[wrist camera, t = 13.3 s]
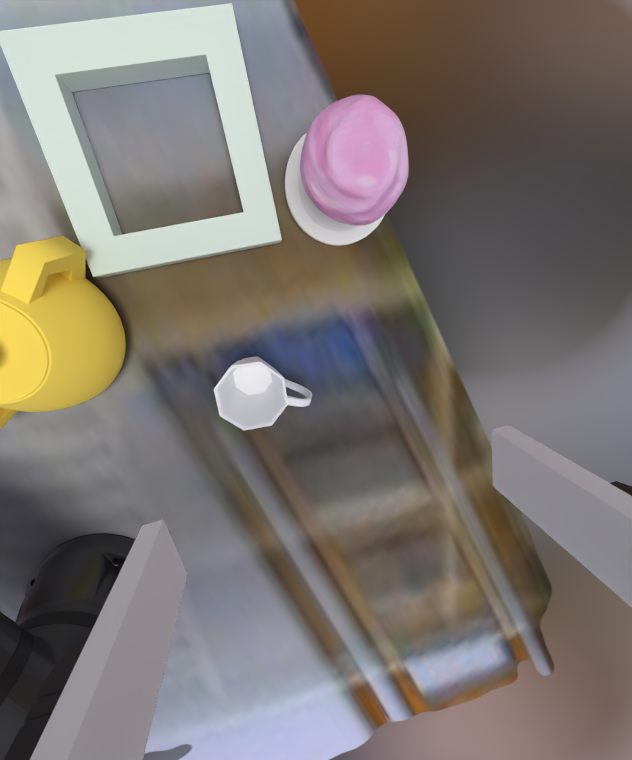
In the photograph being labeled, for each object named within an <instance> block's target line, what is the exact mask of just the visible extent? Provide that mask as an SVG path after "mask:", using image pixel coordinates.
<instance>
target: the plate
mask: <svg viewBox="0 0 632 760" xmlns="http://www.w3.org/2000/svg"><path fill="white" fill-rule="evenodd" d="M306 134H307V133H306ZM306 134H304V135H303V136H302V138H301V139H300V140H299V141H298V142H297V144H296V145H295V147H294V149H293V151H292V153H291V155H290V158H289V161H288V164H287V168H286V173H285V182H284V186H285V197H286V201H287V205H288V208H289V211H290V213H291V215H292V217H293V219H294V221H295V222H296V223H297V225H298V226H299V227H300V229H301V230H302V231H303V232H304V233H306V234H307V235H308V236H309V237H311V238H312V239H314V240H316V241H318V242H320V243H323V244H326V245H331V246H343V245H348V244H352V243H354V242H357V241H359V240H361V239H363V238H364V237H366V236H368V235H369V234H370V233H371V232H372V231H373V230H374V229H375V228H376V227H377V226H378V225H379V223H380V222H381V221H382V219H383V217H384V215H385V214H384V215H383V216H382V217H381V218H380V219H378V220H376V221H375V222H373V223H371V224H368V225H349V224H344V223H341V222H338V221H336V220H334V219H332V218H330V217H328V216H326V215H325V214H324V213H322V212H321V211H320V210H319V209H318V208H317V207H316V206H315V204H314V203H313V202H312V201H311V199H310V198H309V197H308V195H307V193H306V191H305V189H304V186H303V183H302V179H301V173H300V160H301V153H302V148H303V144H304V140H305V137H306Z"/></svg>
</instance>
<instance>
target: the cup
mask: <svg viewBox="0 0 632 760" xmlns="http://www.w3.org/2000/svg"><path fill="white" fill-rule="evenodd" d="M285 386H286V387H288V388H290V389H293V390H295V391H297V392H299V393H301V394H303V395H305V396H306V397H307V398H304V399H300V398H295V397H292V396H288V395H287V394H286V387H285ZM214 393H215V397H216V402H217V406H218V410H219V415H220V416H221V417H222V418H224V419H226V420H227V421H229V422H231V423H232V424H234V425H236V426H237V427H239V428H241V429H242V430H250V429H255V428H261V427H266V426H272V424H273V423H274V422H275V421H276V419H277V418H278V417H279V415H280V414H281V413H282V412H283V410H284V409H285V408H286V406H287V405H292V406H298V407H305V406H308V405H309V404H310V402H311V398H312V392H311V391H310V390H308V389H307V388H305V387H303V386H301V385H299V384H296V383H294V382H292V381H289V380H287V379H284V377H283V376H282V375H281V374H280V373H279V372H278V371H277V370H276V369H275V368H273V367H272V366H270V365H269V364H268V363H267V362H265V361H264V360H262V359H261V358H259V357H258V356H255V357H249V358H243V359H242V360H238V361H237V362H236V363H234V364H233V365H231V366H230V368H229V369H228V370H227V372H226V373H225V374H224V376H223V377H222V379H221V380H220V381H219V383H218V384H217V385H216V387H215V388H214Z"/></svg>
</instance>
